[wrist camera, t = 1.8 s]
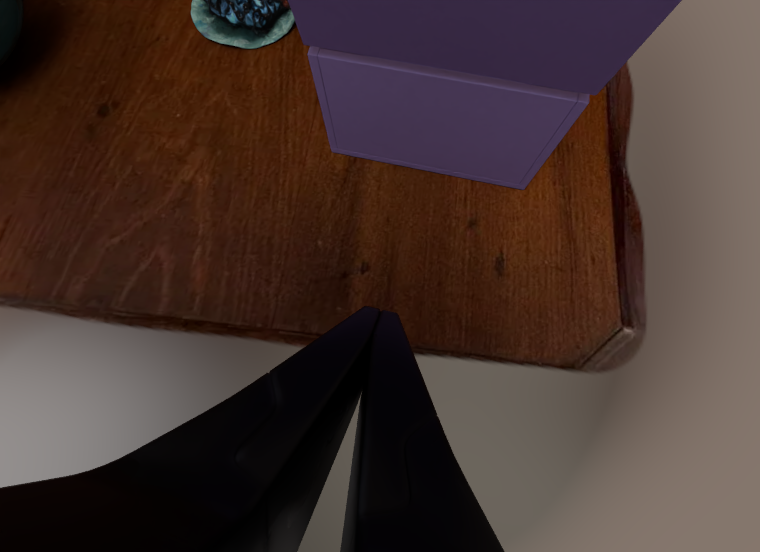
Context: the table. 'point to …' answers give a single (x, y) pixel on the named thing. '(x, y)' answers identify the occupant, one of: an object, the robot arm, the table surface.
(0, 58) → the vase
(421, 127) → the file box
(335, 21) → the flap
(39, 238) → the table surface
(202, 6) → the dish
